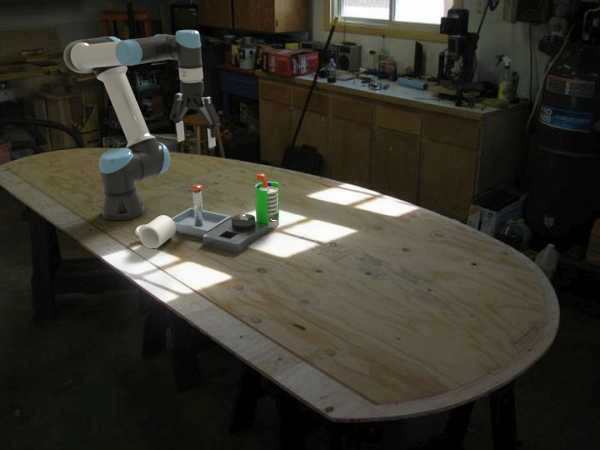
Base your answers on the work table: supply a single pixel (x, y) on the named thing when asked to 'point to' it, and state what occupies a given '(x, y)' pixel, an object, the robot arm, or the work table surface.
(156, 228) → the mug
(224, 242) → the grey block with dome
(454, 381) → the work table surface
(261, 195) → the green-shelled ribbed roller
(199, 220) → the pin
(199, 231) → the tray
